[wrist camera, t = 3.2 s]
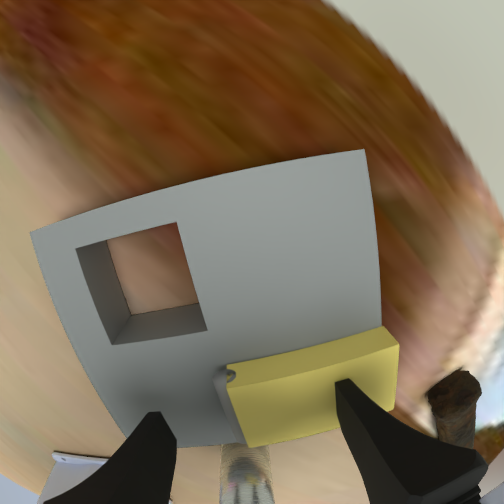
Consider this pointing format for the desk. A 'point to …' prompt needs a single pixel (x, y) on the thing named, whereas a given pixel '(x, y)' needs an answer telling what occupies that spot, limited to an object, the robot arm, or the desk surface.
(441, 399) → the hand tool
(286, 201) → the plate
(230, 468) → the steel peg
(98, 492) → the robot arm
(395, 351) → the latch flap
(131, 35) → the desk surface
